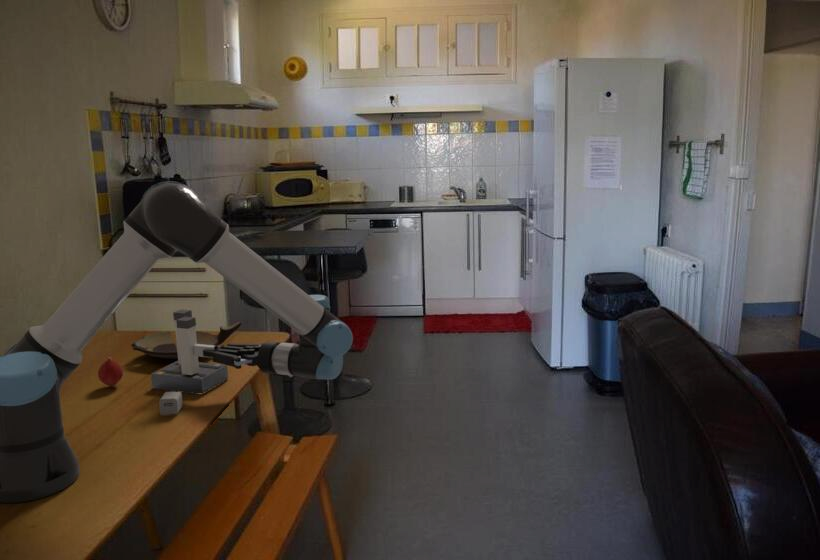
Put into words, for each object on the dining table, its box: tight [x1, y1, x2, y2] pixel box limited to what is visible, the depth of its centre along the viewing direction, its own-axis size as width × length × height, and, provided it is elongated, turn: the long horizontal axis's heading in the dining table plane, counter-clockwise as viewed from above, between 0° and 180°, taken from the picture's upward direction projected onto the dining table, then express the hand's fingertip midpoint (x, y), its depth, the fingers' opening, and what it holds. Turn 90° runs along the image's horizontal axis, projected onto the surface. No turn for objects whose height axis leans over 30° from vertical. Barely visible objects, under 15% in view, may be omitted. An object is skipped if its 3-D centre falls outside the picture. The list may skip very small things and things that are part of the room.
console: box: [150, 360, 229, 395], centre depth 173 cm, size 11×15×4 cm
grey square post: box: [176, 316, 200, 375], centre depth 167 cm, size 3×3×14 cm
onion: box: [97, 356, 124, 388], centre depth 171 cm, size 6×6×8 cm
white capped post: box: [172, 309, 193, 365], centre depth 175 cm, size 3×3×14 cm
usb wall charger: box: [158, 391, 183, 416], centre depth 157 cm, size 4×7×4 cm, turn 6°
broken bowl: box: [130, 321, 242, 360], centre depth 196 cm, size 22×30×8 cm
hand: (195, 349), depth 167 cm, fingers closed
